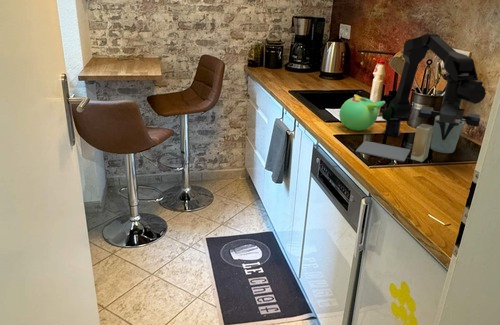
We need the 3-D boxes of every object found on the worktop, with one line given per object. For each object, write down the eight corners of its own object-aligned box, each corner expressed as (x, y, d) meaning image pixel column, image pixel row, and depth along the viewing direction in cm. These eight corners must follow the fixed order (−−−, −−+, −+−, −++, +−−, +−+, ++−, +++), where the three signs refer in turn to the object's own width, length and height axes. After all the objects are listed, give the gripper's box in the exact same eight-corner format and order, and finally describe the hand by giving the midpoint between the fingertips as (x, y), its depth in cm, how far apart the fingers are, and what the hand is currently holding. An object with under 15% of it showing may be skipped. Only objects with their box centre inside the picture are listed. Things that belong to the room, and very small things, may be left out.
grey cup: (433, 142, 163) (439, 114, 159) (460, 149, 157) (467, 119, 153) (425, 149, 156) (431, 119, 151) (453, 156, 150) (460, 125, 145)
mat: (364, 141, 162) (364, 140, 162) (410, 150, 155) (410, 149, 154) (355, 151, 152) (355, 150, 152) (404, 161, 144) (404, 160, 144)
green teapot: (344, 120, 188) (348, 89, 182) (381, 127, 181) (387, 94, 175) (332, 131, 173) (336, 97, 168) (372, 138, 166) (377, 103, 160)
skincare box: (415, 154, 151) (422, 122, 146) (427, 157, 149) (434, 125, 144) (409, 159, 146) (416, 126, 142) (422, 162, 144) (428, 129, 139)
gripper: (420, 96, 133) (411, 141, 139) (484, 105, 125) (472, 152, 131) (425, 90, 142) (416, 132, 148) (485, 98, 134) (473, 142, 140)
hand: (443, 139), depth 141 cm, fingers closed
